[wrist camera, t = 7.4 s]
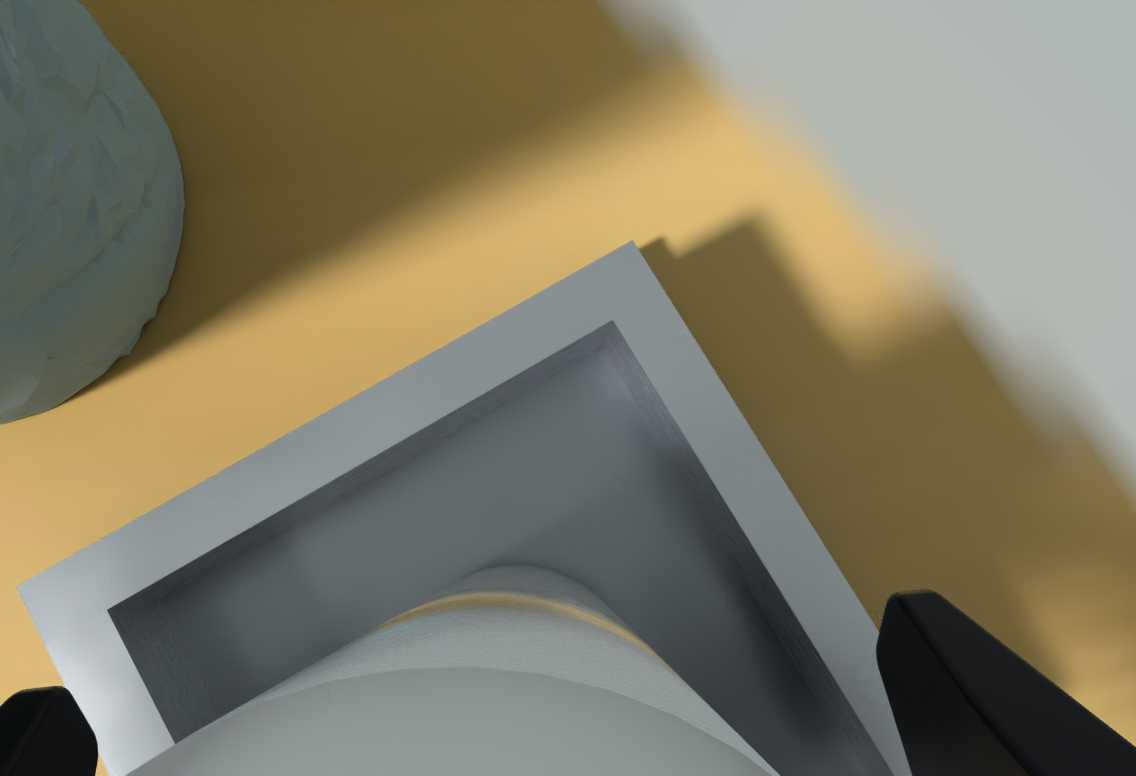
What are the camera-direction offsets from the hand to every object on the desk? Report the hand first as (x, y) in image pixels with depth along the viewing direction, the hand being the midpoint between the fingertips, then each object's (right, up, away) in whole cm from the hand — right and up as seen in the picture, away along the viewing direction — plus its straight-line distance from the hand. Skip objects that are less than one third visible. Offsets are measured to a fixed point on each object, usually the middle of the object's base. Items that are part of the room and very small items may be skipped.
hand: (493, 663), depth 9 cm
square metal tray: (0, -3, +8) cm, 8 cm away
